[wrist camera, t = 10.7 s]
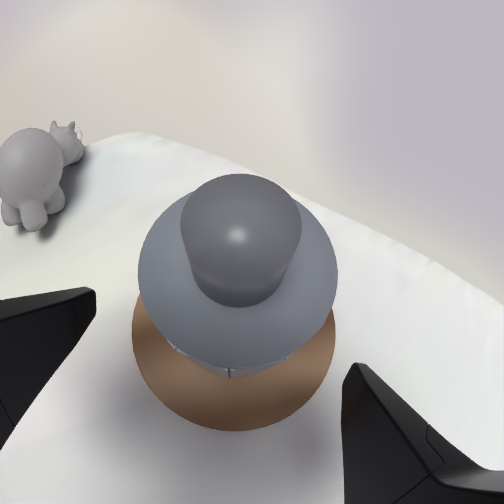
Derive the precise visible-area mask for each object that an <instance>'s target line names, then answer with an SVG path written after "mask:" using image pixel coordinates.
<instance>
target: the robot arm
mask: <svg viewBox="0 0 504 504" xmlns="http://www.w3.org/2000/svg"><path fill="white" fill-rule="evenodd" d="M95 315H96V293H95V291H94V290H93V289H90V288H88V287H80V288H74V289H67V290H61V291H55V292H49V293H42V294H36V295H30V296H23V297H17V298H10V299H4V300H0V450H1V449H2V447H3V446H4V444H5V442H6V441H7V439H8V438H9V436H10V435H11V433H12V432H13V430H14V429H15V427H16V425H17V424H18V423H19V421H20V420H21V418H22V417H23V415H24V414H25V412H26V411H27V409H28V408H29V407H30V405H31V404H32V402H33V401H34V400H35V398H36V397H37V395H38V394H39V393H40V391H41V390H42V389H43V387H44V386H45V385H46V383H47V382H48V381H49V379H50V378H51V377H52V375H53V374H54V373H55V371H56V370H57V369H58V368H59V366H60V365H61V364H62V362H63V361H64V360H65V359H66V357H67V356H68V355H69V354H70V352H71V351H72V350H73V349H74V347H75V346H76V344H77V343H78V341H79V340H80V338H81V337H82V335H83V334H84V332H85V331H86V329H87V328H88V326H89V325H90V323H91V322H92V320H93V319H94V317H95ZM341 433H342V448H343V468H344V504H504V471H493V470H488V469H485V468H483V467H481V466H479V465H478V464H476V463H475V462H474V461H473V460H471V459H470V458H469V457H467V456H466V455H465V454H463V453H462V452H461V451H460V450H458V449H457V448H456V447H455V446H453V445H452V444H451V443H450V442H448V441H447V440H446V439H445V438H444V437H443V436H442V435H440V434H439V433H438V432H437V431H436V430H435V429H434V428H433V427H432V426H431V425H430V424H428V423H427V422H426V421H425V420H424V419H423V418H422V417H421V416H420V415H419V414H418V413H417V412H416V411H415V410H414V409H413V408H412V407H411V406H409V405H408V404H407V403H406V402H405V401H404V400H403V399H402V398H401V397H400V396H399V395H398V394H397V393H396V392H395V391H394V390H393V389H392V388H390V387H389V386H388V385H387V384H386V383H385V382H384V381H383V380H382V379H381V378H380V377H379V376H378V375H377V374H376V373H375V372H374V371H373V370H371V369H370V368H369V367H368V366H367V365H366V364H363V363H357V362H355V363H353V365H352V366H351V368H350V370H349V372H348V374H347V375H346V377H345V379H344V381H343V385H342V410H341Z"/></svg>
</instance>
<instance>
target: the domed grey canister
mask: <svg viewBox="0 0 504 504" xmlns="http://www.w3.org/2000/svg"><path fill="white" fill-rule="evenodd" d="M337 279H338V270H337V262H336V257H335V253H334V249H333V247H332V244H331V242H330V239H329V237H328V235H327V234H326V232H325V230H324V228H323V227H322V225H321V224H320V223H319V221H318V220H317V219H316V218H315V217H314V216H313V214H312V213H311V212H310V211H309V210H308V209H306V208H305V207H304V206H303V205H302V204H300V203H299V202H298V201H296V200H294V199H293V198H291V196H290V195H289V194H288V193H287V192H286V191H285V190H284V189H282V188H281V187H280V186H279V185H277V184H275V183H274V182H272V181H270V180H268V179H265V178H262V177H259V176H255V175H249V174H230V175H224V176H221V177H217V178H215V179H212V180H210V181H208V182H206V183H205V184H203V185H202V186H200V187H199V188H198V189H197V190H195V191H194V192H191V193H189V194H187V195H186V196H184V197H182V198H180V199H179V200H177V201H176V202H175V203H173V204H172V205H171V206H170V207H169V208H167V209H166V210H165V211H164V212H163V213H162V214H161V215H160V217H159V218H158V219H157V220H156V221H155V223H154V224H153V226H152V227H151V229H150V230H149V232H148V234H147V236H146V239H145V241H144V243H143V246H142V249H141V253H140V258H139V264H138V282H139V290H140V294H141V298H142V301H143V306H144V307H145V308H144V309H145V310H146V312H147V313H148V315H149V317H150V318H151V320H152V322H153V323H154V325H155V326H156V327H157V329H158V330H159V331H160V332H161V333H162V335H163V336H164V337H165V338H166V339H167V341H168V342H169V343H170V345H171V346H172V347H173V349H174V350H176V351H177V352H178V353H180V354H181V355H183V356H184V357H186V358H187V359H189V360H190V361H192V362H193V363H195V364H196V365H198V366H200V367H201V368H203V369H204V370H207V371H209V372H212V373H215V374H217V375H220V376H223V377H226V378H229V379H233V378H239V377H245V376H250V375H256V374H258V373H261V372H263V371H265V370H267V369H269V368H271V367H273V366H275V365H277V364H279V363H281V362H283V361H285V360H287V359H288V358H289V357H290V356H291V355H292V354H294V353H295V352H296V351H297V350H298V349H299V348H300V347H301V346H303V345H304V344H305V343H306V342H308V341H309V340H310V339H311V338H312V337H313V336H314V334H315V333H316V332H317V331H318V330H319V329H320V328H321V327H322V326H323V325H324V323H325V320H326V318H327V316H328V314H329V312H330V310H331V308H332V305H333V302H334V298H335V295H336V289H337Z"/></svg>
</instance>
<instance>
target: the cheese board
mask: <svg viewBox="0 0 504 504" xmlns="http://www.w3.org/2000/svg"><path fill="white" fill-rule="evenodd" d="M144 308H145V307H144V306H143V301H142V298H141V294H139V297H138V299H137V302H136V306H135V309H134V314H133V321H132V342H133V350H134V354H135V357H136V361H137V364H138V366H139V369H140V371H141V374H142V376H143V377H144V379H145V381H146V382H147V384H148V386H149V387H150V389H151V390H152V391H153V392H154V394H155V395H156V396H157V397H158V398H159V399H160V400H161V401H162V402H163V403H164V404H165V405H166V406H167V407H168V408H170V409H171V410H172V411H174V412H175V413H177V414H178V415H180V416H181V417H183V418H185V419H187V420H189V421H191V422H193V423H196V424H199V425H201V426H204V427H208V428H212V429H217V430H225V431H244V430H252V429H257V428H261V427H265V426H268V425H271V424H273V423H276V422H278V421H280V420H282V419H284V418H286V417H288V416H289V415H291V414H292V413H294V412H295V411H296V410H298V409H299V408H300V407H302V406H303V405H304V404H305V403H306V402H307V401H308V400H309V399H310V398H311V397H312V396H313V394H314V393H315V392H316V390H317V389H318V388H319V386H320V385H321V383H322V381H323V379H324V378H325V376H326V374H327V371H328V369H329V366H330V364H331V360H332V356H333V352H334V346H335V321H334V315H333V311H332V308H331V310H330V312H329V314H328V316H327V318H326V320H325V323H324V325H323V326H322V327H321V328H320V329H319V330H318V331H317V332H316V333H315V334H314V336H313V337H312V338H311V339H310V340H309V341H308V342H306V343H305V344H304V345H303V346H301V347H300V348H299V349H298V350H297V351H296V352H295V353H294V354H292V355H291V356H290V357H289V358H288V359H287V360H285V361H283V362H281V363H279V364H277V365H275V366H273V367H271V368H269V369H267V370H265V371H263V372H261V373H258V374H256V375H250V376H245V377H239V378H233V379H229V378H226V377H223V376H220V375H217V374H215V373H212V372H209V371H207V370H204V369H203V368H201V367H200V366H198V365H196V364H195V363H193V362H192V361H190V360H189V359H187V358H186V357H184V356H183V355H181V354H180V353H178V352H177V351H176V350H174V349H173V347H172V346H171V345H170V343H169V342H168V341H167V339H166V338H165V337H164V336H163V335H162V333H161V332H160V331H159V330H158V329H157V327H156V326H155V325H154V323H153V322H152V320H151V318H150V317H149V315H148V313H147V312H146V310H145V309H144Z"/></svg>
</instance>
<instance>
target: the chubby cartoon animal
mask: <svg viewBox="0 0 504 504" xmlns="http://www.w3.org/2000/svg"><path fill="white" fill-rule="evenodd" d="M74 128H75V122H71V123H70V124H69V125H68V127H58V126H57V124H56V122H55V121H53V122H52V124H51V128H50V132H49V133H48V132H46V131H44V130H41V129H37V128H27V129H24V130H20V131H18V132H16V133H14V134H13V135H12V136H10V137H9V138H8V139H7V140H6V141H5V142H4V143H3V145H2V146H1V148H0V197H1V198H2V205H1V213H2V219H3V222H4V223H5V224H6V225H7V226H14V225H17V224H19V223H21V222H22V223H23V226H24V228H25V229H26V230H27V231H28V232H35V231H37V230H39V229H41V228H42V227H43V226H44V225H45V224H46V222H47V214H54V213H57V212H59V211H61V210H62V209H63V208H64V206H65V196H64V193H63V190H62V189H61V187H60V185H59V182H60V179H61V176H62V172H63V167H65V166H67V165H69V164H73V163H76V162H77V161H79V160H80V159H81V157H82V155H83V151H84V145H83V144H82V132H81V130H80V128H78V133H77V134H76V132H74Z"/></svg>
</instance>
